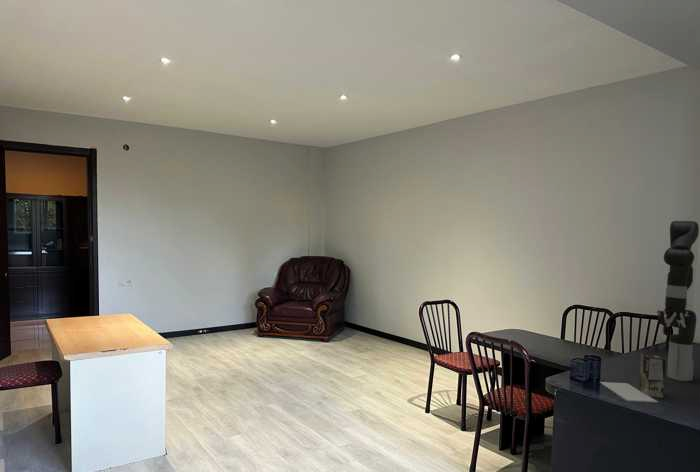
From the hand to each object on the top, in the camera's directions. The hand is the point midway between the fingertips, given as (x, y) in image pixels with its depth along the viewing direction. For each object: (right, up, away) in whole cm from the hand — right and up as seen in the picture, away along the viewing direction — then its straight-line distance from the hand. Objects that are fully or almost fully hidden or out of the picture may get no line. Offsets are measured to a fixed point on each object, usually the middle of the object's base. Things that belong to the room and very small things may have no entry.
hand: (673, 335), depth 205 cm
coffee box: (-9, -25, +1) cm, 27 cm away
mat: (-19, -25, +1) cm, 31 cm away
